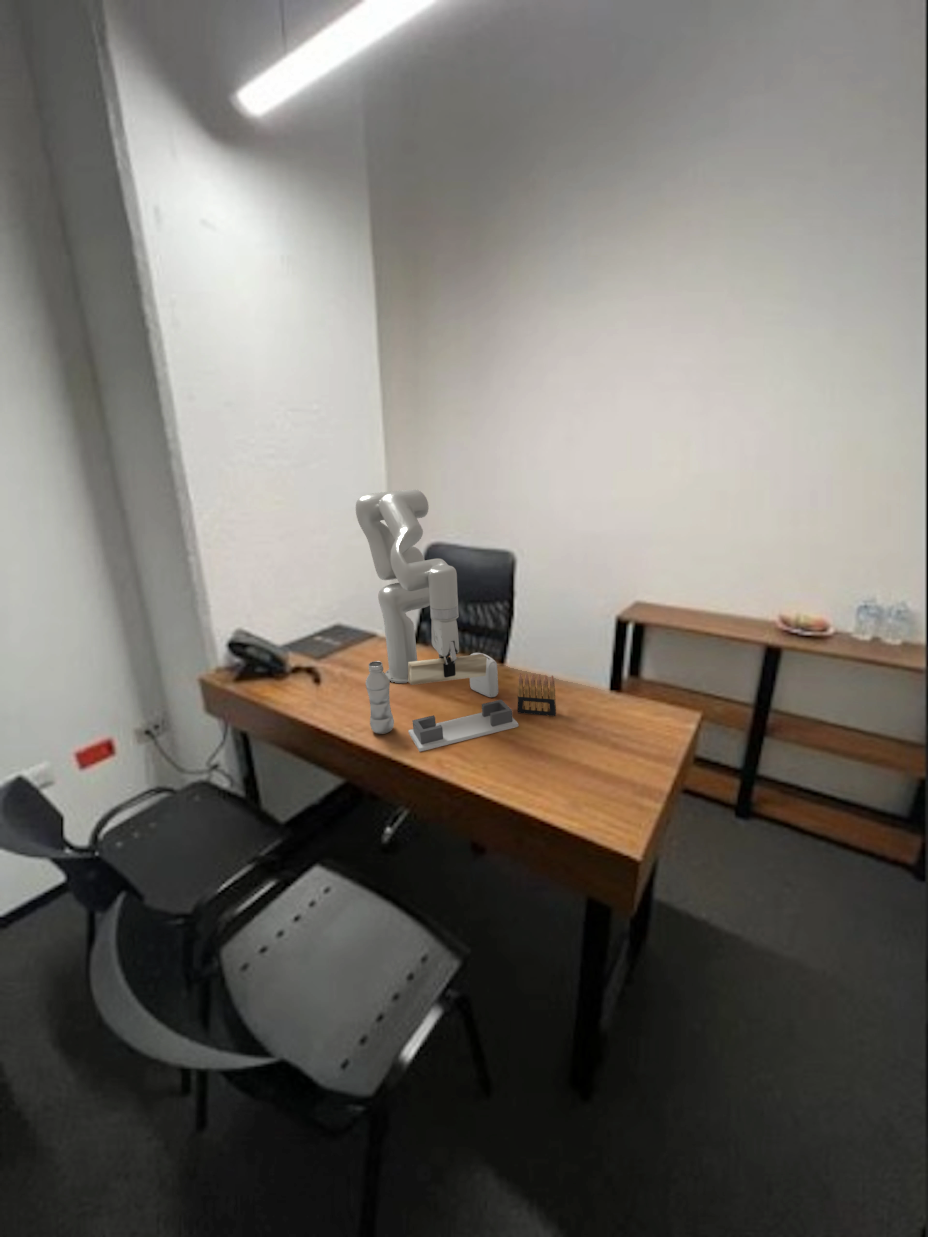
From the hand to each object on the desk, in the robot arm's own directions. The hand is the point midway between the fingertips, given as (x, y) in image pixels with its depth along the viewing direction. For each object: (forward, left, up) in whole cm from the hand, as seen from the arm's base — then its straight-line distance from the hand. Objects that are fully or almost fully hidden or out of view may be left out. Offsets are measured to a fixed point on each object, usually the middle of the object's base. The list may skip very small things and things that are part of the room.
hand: (447, 673), depth 158 cm
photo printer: (-8, +14, -13) cm, 21 cm away
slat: (0, 0, -1) cm, 1 cm away
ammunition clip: (+11, +22, -13) cm, 28 cm away
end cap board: (+10, 0, -13) cm, 16 cm away
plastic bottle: (+1, -20, -13) cm, 24 cm away
